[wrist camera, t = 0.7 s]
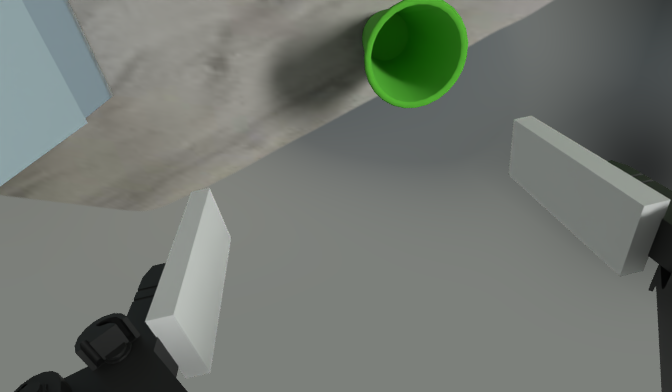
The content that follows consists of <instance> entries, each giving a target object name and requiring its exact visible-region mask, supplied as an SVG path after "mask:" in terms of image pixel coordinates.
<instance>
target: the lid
mask: <svg viewBox="0 0 672 392" xmlns="http://www.w3.org/2000/svg"><path fill="white" fill-rule="evenodd" d="M85 124H87V121H86V119H85V117H84V115H83V114H82V112H81V110H80V108H79V106H78V104H77V102H76V101H75V99H74V97H73V95H72V93H71V91H70V89H69V87H68V86H67V84H66V82H65V80H64V78H63V76H62V74H61V72H60V71H59V69H58V67H57V65H56V63H55V61H54V59H53V58H52V56H51V54H50V52H49V50H48V48H47V46H46V44H45V43H44V41H43V39H42V37H41V35H40V33H39V31H38V29H37V28H36V26H35V24H34V22H33V20H32V18H31V16H30V15H29V13H28V11H27V9H26V7H25V5H24V3H23V1H22V0H0V186H1V185H3V184H4V183H6V182H7V181H8V180H10V179H11V178H12V177H14V176H15V175H17V174H18V173H19V172H21V171H22V170H23V169H25V168H26V167H28V166H29V165H30V164H32V163H33V162H34V161H36V160H37V159H39V158H40V157H41V156H43V155H44V154H45V153H47V152H48V151H50V150H51V149H52V148H54V147H55V146H56V145H58V144H59V143H60V142H62V141H63V140H65V139H66V138H67V137H69V136H70V135H71V134H73V133H74V132H76V131H77V130H78V129H80V128H81V127H82V126H84V125H85Z"/></svg>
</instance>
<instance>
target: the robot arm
mask: <svg viewBox="0 0 672 392" xmlns="http://www.w3.org/2000/svg"><path fill="white" fill-rule="evenodd" d="M509 176H510V177H512V178H513V179H514V180H515V181H516V182H517V183H518V184H519V185H520V186H521V187H522V188H524V189H525V190H526V191H527V192H528V193H529V194H530V195H531V196H532V197H533V198H534V199H536V200H537V201H538V202H539V203H540V204H541V205H542V206H543V207H544V208H545V209H547V210H548V211H549V212H550V213H551V214H552V215H553V216H554V217H555V218H556V219H558V220H559V221H560V222H561V223H562V224H563V225H564V226H565V227H566V228H567V229H569V230H570V231H571V232H572V233H573V234H574V235H575V236H576V237H577V238H578V239H579V240H581V241H582V242H583V243H584V244H585V245H586V246H587V247H588V248H590V249H591V251H592V252H594V253H595V254H596V255H597V256H598V257H599V258H600V259H601V260H602V261H604V262H605V263H606V264H607V265H608V266H609V267H610V268H611V269H612V270H613V271H614V272H615V273H617V274H618V275H619V276H623V275H628V274H632V273H636V272H640V271H643V270H644V267H645V264H646V262H647V259H648V257H651V258H652V259H653V260H654V261H656V262H657V263H658V264H659V265H658V268H657V270H656V272H655V275H654V277H653V280H652V282H651V284H650V288H649V290H650V291H653V290H654V287H655V286H656V292H657V308H658V309H657V311H658V327H659V329H658V330H659V349H660V367H661V387H662V392H672V191H671V190H669V189H668V188H666V187H664V186H663V185H661V184H659V183H657V182H656V181H652V179H650V178H649V177H647V176H645V175H642V174H641V173H640V172H638V171H637V170H635V169H633V168H631V167H630V166H628V165H625V164H621V163H618V162H615V161H612V160H611V161H605V160H604V159H602V158H601V157H599V156H597V155H596V154H594V153H592V152H591V151H589V150H587V149H586V148H584V147H582V146H581V145H579V144H577V143H576V142H574V141H572V140H571V139H569V138H567V137H566V136H564V135H563V134H561V133H559V132H558V131H556V130H554V129H553V128H551V127H549V126H548V125H546V124H544V123H542V122H541V121H539V120H538V119H536V118H534V117H533V116H528V117H523V118H519V119H515V120H514V124H513V135H512V145H511V157H510V167H509ZM230 241H231V237H230V235H229V232H228V230H227V227H226V225H225V223H224V220H223V218H222V216H221V213H220V211H219V209H218V206H217V204H216V202H215V199H214V197H213V195H212V193H211V190H210V189H209V188H206V189H202V190H198V191H193V192H191V194H190V197H189V200H188V203H187V205H186V208H185V211H184V214H183V217H182V219H181V222H180V225H179V228H178V231H177V233H176V236H175V239H174V242H173V245H172V247H171V251H170V253H169V256H168V259H167V261H166V263H163V264H159V265H155V266H152V267H151V269H150V270H149V271H148V272H147V273H146V274H145V276H144V277H143V278H142V281H141V283H140V285H139V288H138V292H137V293H136V295H135V297H134V302H132V305H131V307H130V310H129V312H128V315H127V316H125V315H123V314H121V313H119V314H118V313H117V314H115V313H113V314H110V315H107V316H104V317H102V318H100V319H98V320H96V321H95V322H93V323H92V324H91V325H90V326H88V327H87V328H86V329H85V330H84V331H83V332H82V334H81V335H80V336H79V337H78V339H77V342H76V344H75V352H76V354H77V355H78V356H79V357H80V358H81V359H82V360H83V361H84V362H85V363H86V364H87V365H88V367H86V368H84V369H82V370H80V371H78V372H76V373H74V374H72V375H70V376H68V377H66V378H64V379H63V378H62V377H61V376H60V375H59V374H58V373H56V372H53V371H49V372H43V373H40V374H38V375H36V376H33V377H32V378H30V379H29V380H27V381H26V382H24V383H23V384H22V385H21V386H20V387H18V388H17V389H16V391H14V392H187V391H186V389H185V388H184V387H183V386H182V385H181V383H180V382H179V381H178V380H177V379H176V376H177V371H178V368H179V370H180V371H181V372H182V374H183V375H184V377H185V378H191V377H195V376H199V375H203V374H207V373H210V371H211V365H212V359H213V352H214V345H215V339H216V332H217V325H218V320H219V313H220V307H221V300H222V294H223V287H224V281H225V274H226V268H227V261H228V255H229V248H230Z"/></svg>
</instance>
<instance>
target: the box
mask: <svg viewBox="0 0 672 392" xmlns="http://www.w3.org/2000/svg"><path fill="white" fill-rule="evenodd" d="M22 1H23V3H24V5H25V7H26V9H27V11H28V13H29V15H30V16H31V18H32V20H33V22H34V24H35V26H36V28H37V29H38V31H39V33H40V35H41V37H42V39H43V41H44V43H45V44H46V46H47V48H48V50H49V52H50V54H51V56H52V58H53V59H54V61H55V63H56V65H57V67H58V69H59V71H60V72H61V74H62V76H63V78H64V80H65V82H66V84H67V86H68V87H69V89H70V91H71V93H72V95H73V97H74V99H75V101H76V102H77V104H78V106H79V108H80V110H81V112H82V114H83V115H84V117H85V118H86V117H87V116H89V115H90V114H91V113H92V112H94V111H95V110H96V109H97V108H98V107H100V106H101V105H102V104H103V103H105V102H106V101H107V100H108V99H110V98H111V97H112V96H113V94H112V92H111V90H110V87H109V85H108V83H107V81H106V79H105V77H104V75H103V73H102V71H101V69H100V66H99V64H98V62H97V60H96V58H95V56H94V54H93V52H92V50H91V48H90V45H89V43H88V41H87V39H86V37H85V35H84V33H83V31H82V29H81V26H80V24H79V22H78V20H77V18H76V16H75V14H74V12H73V10H72V8H71V5H70V3H69V1H68V0H22Z"/></svg>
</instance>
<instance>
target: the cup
mask: <svg viewBox="0 0 672 392" xmlns="http://www.w3.org/2000/svg"><path fill="white" fill-rule="evenodd" d="M362 43H363V48H364V52H365V54H364V63H365V72H366V75H367V79H368V82H369V84H370V85H371V87H372V89H373V90H374V92H375V93H376V94H377V95H378V96H379V97H380V98H382V100H384V101H386V102H387V103H389V104H391V105H393V106H398V107H402V108H416V107H420V106H424V105H427V104H429V103H431V102H433V101H435V100H437V99H439V98H440V97H441V96H442V95H444V94H445V93H446V92H448V91H449V89H450V88H451V87H452V86H453V84H454V83H455V82H456V81H457V79H458V77H459V75H460V74H461V72H462V70H463V67H464V64H465V60H466V57H467V48H468V39H467V32H466V28H465V26H464V23H463V21H462V18H461V17H460V15H459V14H458V13H457V12H456V10H455V9H454V8H453V7H452V6H450V5H449V4H448V3H446V2H445V1H443V0H403V1H401V2H399V3H397V4H396V5H394V6H392V7H391V8H390V9H386V10H383V11H379V12H378V13H376V14H374V15H373V16H372V17H371V18H370V19H369V20H368V21H367V23H366V24H365V27H364V29H363V34H362Z"/></svg>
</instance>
